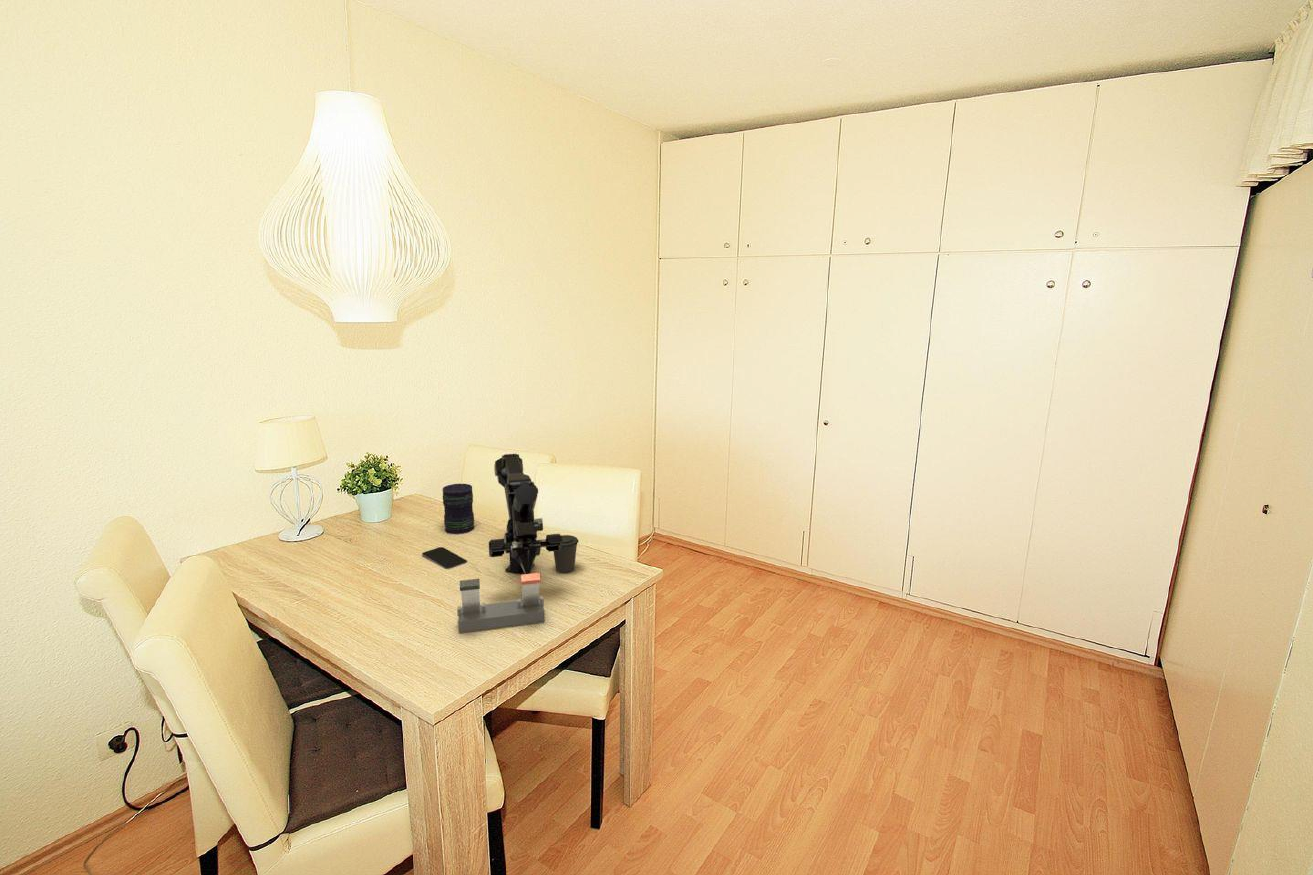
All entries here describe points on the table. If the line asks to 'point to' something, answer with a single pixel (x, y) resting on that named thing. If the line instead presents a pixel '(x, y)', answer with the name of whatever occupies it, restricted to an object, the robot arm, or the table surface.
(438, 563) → the smartphone
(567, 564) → the coffee cup
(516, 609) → the switch box
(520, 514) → the robot arm
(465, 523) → the storage jar
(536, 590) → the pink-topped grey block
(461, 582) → the cream dark-capped block
